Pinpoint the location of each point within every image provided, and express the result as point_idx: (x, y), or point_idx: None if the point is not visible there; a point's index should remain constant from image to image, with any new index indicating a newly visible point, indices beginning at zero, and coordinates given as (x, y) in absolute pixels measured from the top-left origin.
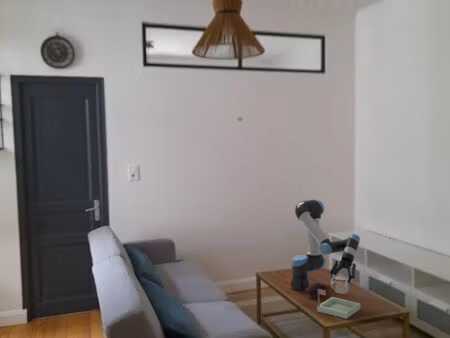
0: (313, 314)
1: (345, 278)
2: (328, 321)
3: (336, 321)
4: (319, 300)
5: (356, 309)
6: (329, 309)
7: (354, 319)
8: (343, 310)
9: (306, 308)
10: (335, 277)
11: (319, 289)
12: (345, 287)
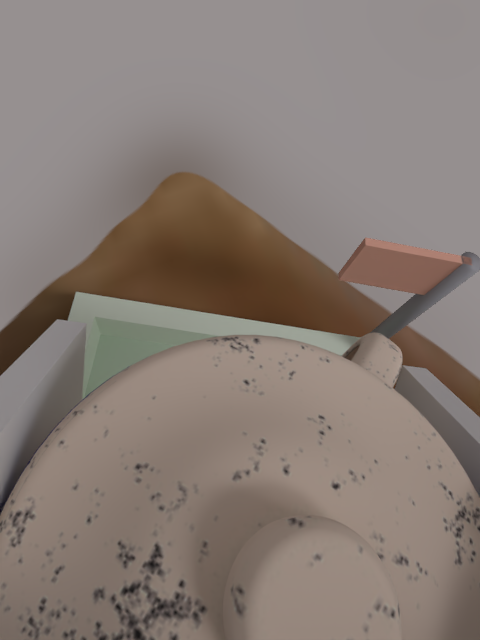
0: (345, 290)
1: (66, 504)
2: (199, 223)
3: (146, 243)
4: (382, 325)
5: None
6: (250, 321)
7: (12, 334)
8: None
9: (450, 373)
10: (433, 451)
11: (457, 259)
12: (81, 390)
